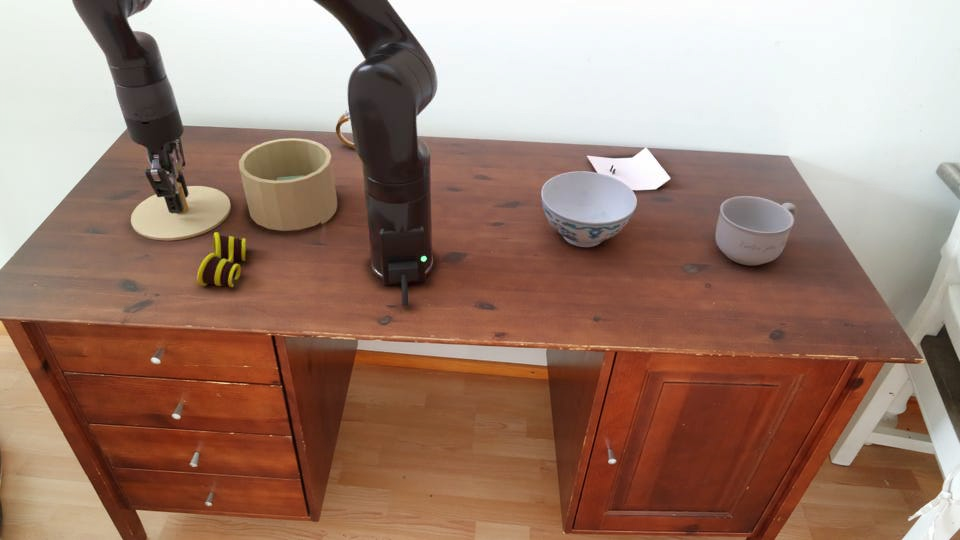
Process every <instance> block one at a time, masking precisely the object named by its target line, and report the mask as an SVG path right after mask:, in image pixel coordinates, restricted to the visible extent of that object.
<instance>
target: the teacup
mask: <svg viewBox="0 0 960 540" xmlns="http://www.w3.org/2000/svg"><path fill="white" fill-rule="evenodd" d="M797 212H798V209H797V206H796V205H795V204H794V203H791V202H785V203H783V204H780V203H778V202H776V201H774V200H771V199H767V198H764V197H760V196H753V195H740V196H733V197H730V198H727V199H725V200H724V201H723V202H722V203H721V205H720V207H719V215H718V219H717V224H716V228H715V242H716V246H717V247H718V250H720V251H721V252H722V253H723V254H724V255H725V256H726V257H727V258H728V259H729V260H731V261H733V262H734V263H737V264H740V265H744V266H760V265H763V264H767V263H770V262H773V261H774V260H776V259H777V258H778V257H779V256H780V255H781V254H782V252H783V251H784V248H785V247H786V244H787V243H788V239H789V235H790V233H791V229H792V228H793V226H794V223H795V217H796V216H797Z"/></svg>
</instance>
